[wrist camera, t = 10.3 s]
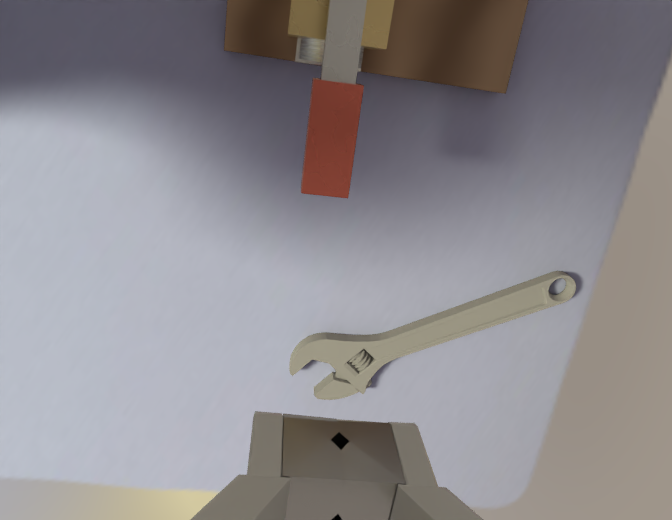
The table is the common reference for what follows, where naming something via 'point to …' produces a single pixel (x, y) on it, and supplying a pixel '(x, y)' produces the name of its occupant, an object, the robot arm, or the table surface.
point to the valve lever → (335, 104)
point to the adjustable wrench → (419, 335)
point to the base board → (404, 39)
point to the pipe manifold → (312, 22)
